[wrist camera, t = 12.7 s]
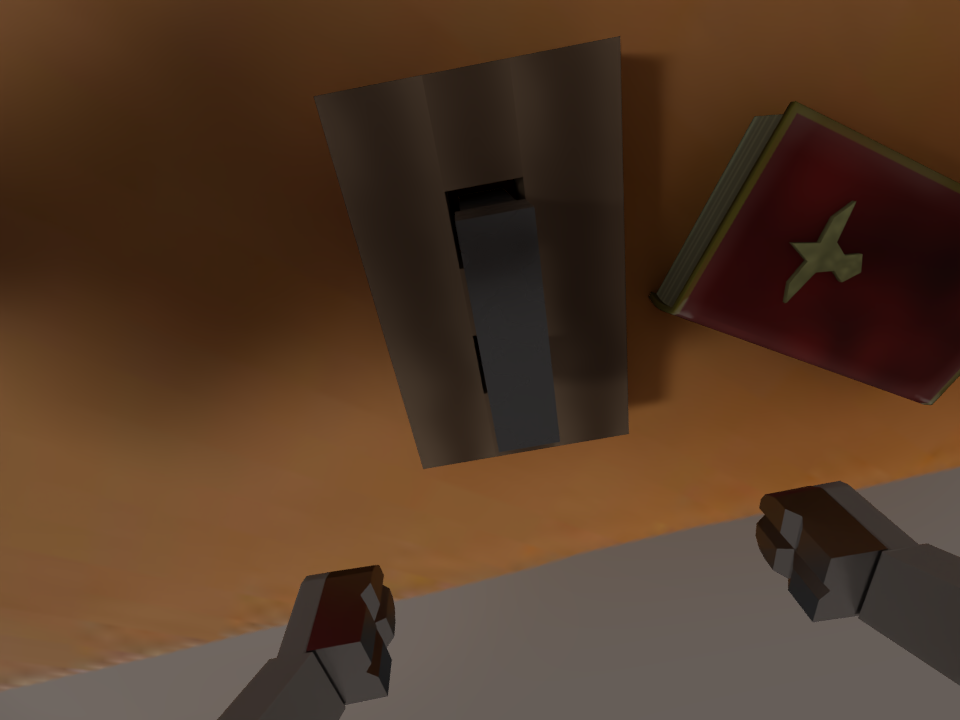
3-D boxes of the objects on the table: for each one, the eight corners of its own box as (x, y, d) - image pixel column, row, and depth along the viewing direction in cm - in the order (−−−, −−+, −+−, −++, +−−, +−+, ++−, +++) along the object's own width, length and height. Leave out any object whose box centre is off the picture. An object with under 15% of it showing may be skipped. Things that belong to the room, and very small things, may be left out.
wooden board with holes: (426, 433, 33) (423, 468, 30) (334, 103, 23) (313, 96, 20) (609, 402, 33) (628, 433, 29) (594, 52, 23) (620, 36, 20)
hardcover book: (878, 382, 34) (931, 412, 30) (644, 297, 30) (671, 319, 26) (1006, 232, 29) (1088, 246, 25) (748, 106, 25) (799, 100, 21)
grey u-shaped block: (485, 357, 31) (498, 452, 21) (454, 192, 26) (455, 221, 16) (527, 349, 31) (560, 441, 21) (504, 183, 26) (534, 206, 16)
